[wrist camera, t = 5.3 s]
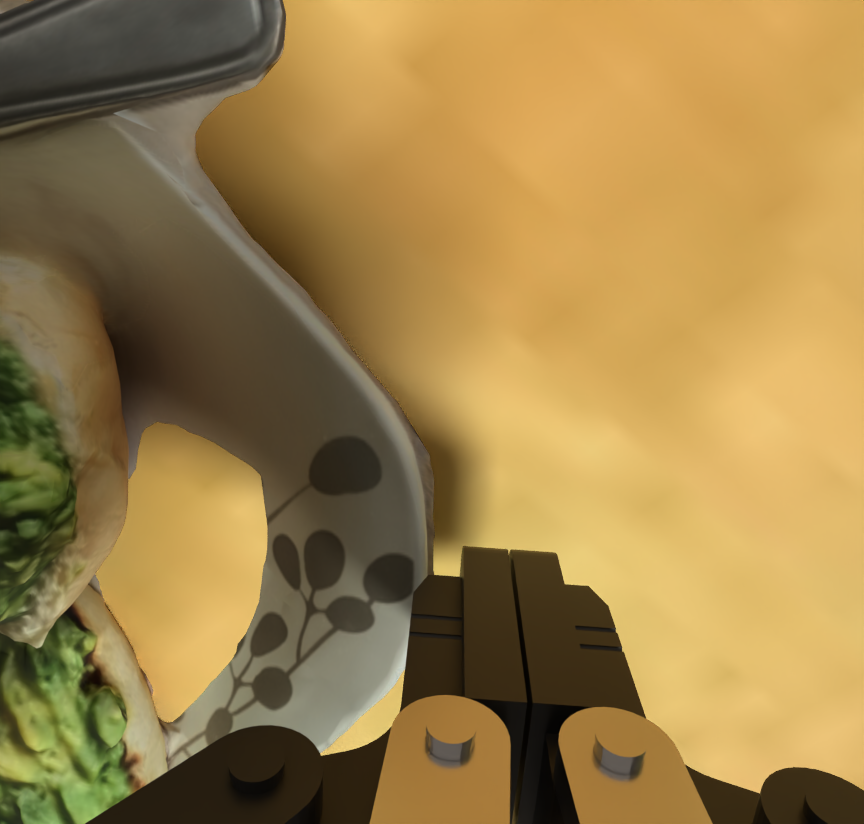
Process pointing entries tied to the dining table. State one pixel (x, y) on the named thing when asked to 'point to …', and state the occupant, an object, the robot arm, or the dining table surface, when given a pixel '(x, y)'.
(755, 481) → the dining table surface
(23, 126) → the salad plate
